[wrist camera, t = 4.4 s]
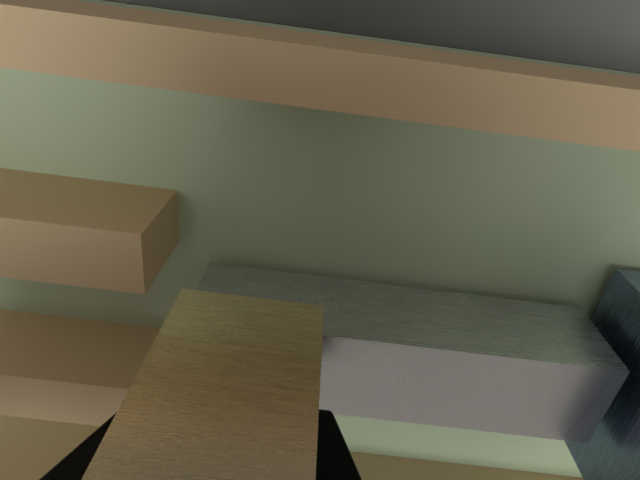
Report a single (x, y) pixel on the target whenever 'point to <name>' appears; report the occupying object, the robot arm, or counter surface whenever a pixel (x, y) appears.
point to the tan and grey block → (371, 374)
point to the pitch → (285, 199)
